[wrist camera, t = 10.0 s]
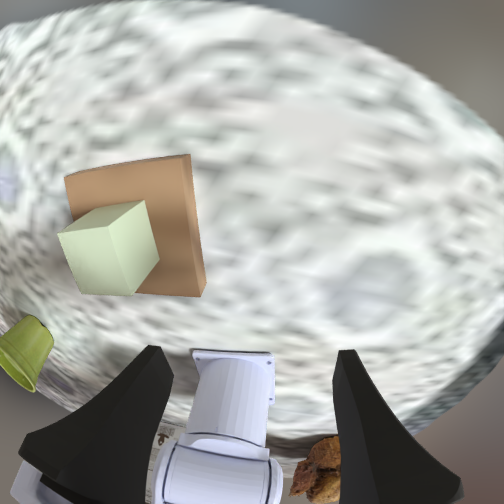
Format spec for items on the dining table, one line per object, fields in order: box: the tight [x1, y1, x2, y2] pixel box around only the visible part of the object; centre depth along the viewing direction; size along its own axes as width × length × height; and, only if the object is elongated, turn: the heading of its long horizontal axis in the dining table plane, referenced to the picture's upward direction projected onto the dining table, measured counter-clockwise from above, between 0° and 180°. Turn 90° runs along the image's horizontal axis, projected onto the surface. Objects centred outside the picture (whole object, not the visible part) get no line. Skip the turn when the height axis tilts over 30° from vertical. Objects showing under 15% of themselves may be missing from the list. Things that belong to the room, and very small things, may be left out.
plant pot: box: [0, 315, 54, 392], centre depth 25 cm, size 9×9×9 cm
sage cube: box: [57, 200, 160, 296], centre depth 16 cm, size 4×4×4 cm
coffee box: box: [145, 421, 186, 504], centre depth 31 cm, size 9×6×16 cm
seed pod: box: [289, 436, 341, 504], centre depth 30 cm, size 13×16×15 cm
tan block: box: [64, 154, 207, 297], centre depth 19 cm, size 10×10×2 cm
